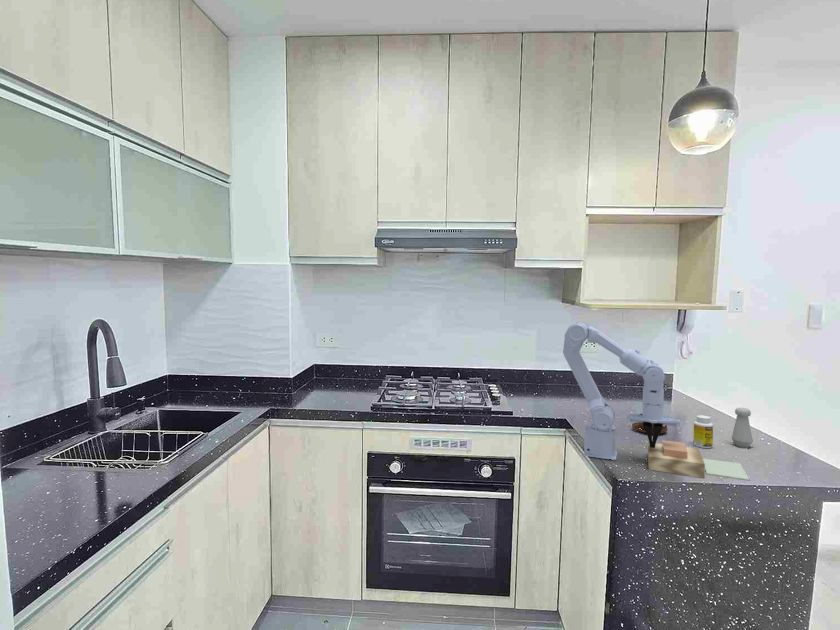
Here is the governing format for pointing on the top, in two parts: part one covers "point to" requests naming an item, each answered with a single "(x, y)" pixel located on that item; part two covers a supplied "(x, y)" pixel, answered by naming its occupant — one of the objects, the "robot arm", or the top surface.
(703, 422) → the supplement bottle
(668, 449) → the terracotta tile
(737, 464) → the sage mat
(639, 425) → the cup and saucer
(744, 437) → the salt shaker
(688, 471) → the oak board
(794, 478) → the top surface
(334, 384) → the top surface
